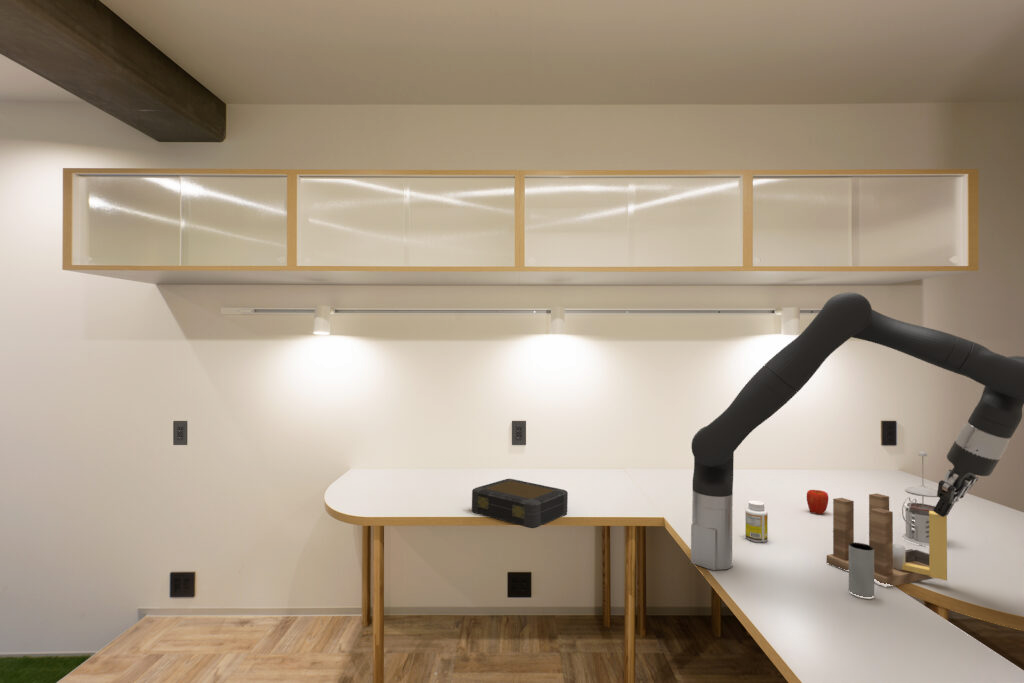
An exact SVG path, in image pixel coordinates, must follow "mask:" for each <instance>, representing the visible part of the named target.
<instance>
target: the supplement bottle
mask: <svg viewBox="0 0 1024 683" xmlns="http://www.w3.org/2000/svg"><path fill="white" fill-rule="evenodd" d="M765 508H766V507H765V503H764V502H762V501H759V500H749V501H748V507H746V509H745V512H744V513H745V538H746V539H747V540H748V541H750V540H751V541H750V542H753V541H755V542H754V543H759V542H763V543H766V542H767V541H768V536H769V535H768V534H769V533H768V529H769V528H768V522H769V521H768V520H769V519H768V511H767V510H766V509H765Z"/></svg>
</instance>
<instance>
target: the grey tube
mask: <svg viewBox="0 0 1024 683" xmlns="http://www.w3.org/2000/svg"><path fill="white" fill-rule="evenodd" d="M849 591H850V592H852V593H853V594H856V595H859V596H863V597H872V596H874V597H875V583H874V548H873V547H872V546H870V545H869V544H867V543H863V542H855V541H854V542H853V543H849V572H848V592H849Z"/></svg>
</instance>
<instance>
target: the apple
mask: <svg viewBox="0 0 1024 683" xmlns="http://www.w3.org/2000/svg"><path fill="white" fill-rule="evenodd" d="M806 503H807V506H808V510H809V511H810V512H811V513H812V514H819V515H820V514H821V515H822V514H824V513H825V512H826V510H827V509H828V504H829V493H827V492H826V491H824V490H820V489H817V490H816V489H809V490H807V491H806Z"/></svg>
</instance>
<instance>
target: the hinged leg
mask: <svg viewBox="0 0 1024 683" xmlns="http://www.w3.org/2000/svg"><path fill="white" fill-rule="evenodd" d="M905 550H906V547H905V546H904V545H901V544H896V543H894V544H893V568H895V569H898V570H906V571H910V572H915V573H920V574H924V575H929V576H930V577H931V579H932V578H933V579H937V580H938V579H939V580H942V581H948V515H947V516H944V517H942V516H940V515H938V514H937V513H935V512H934V511H929V547H928V551H929V552H928V554H929V567H925V566H920V565H915V564H911V563H906V562H905Z"/></svg>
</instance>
